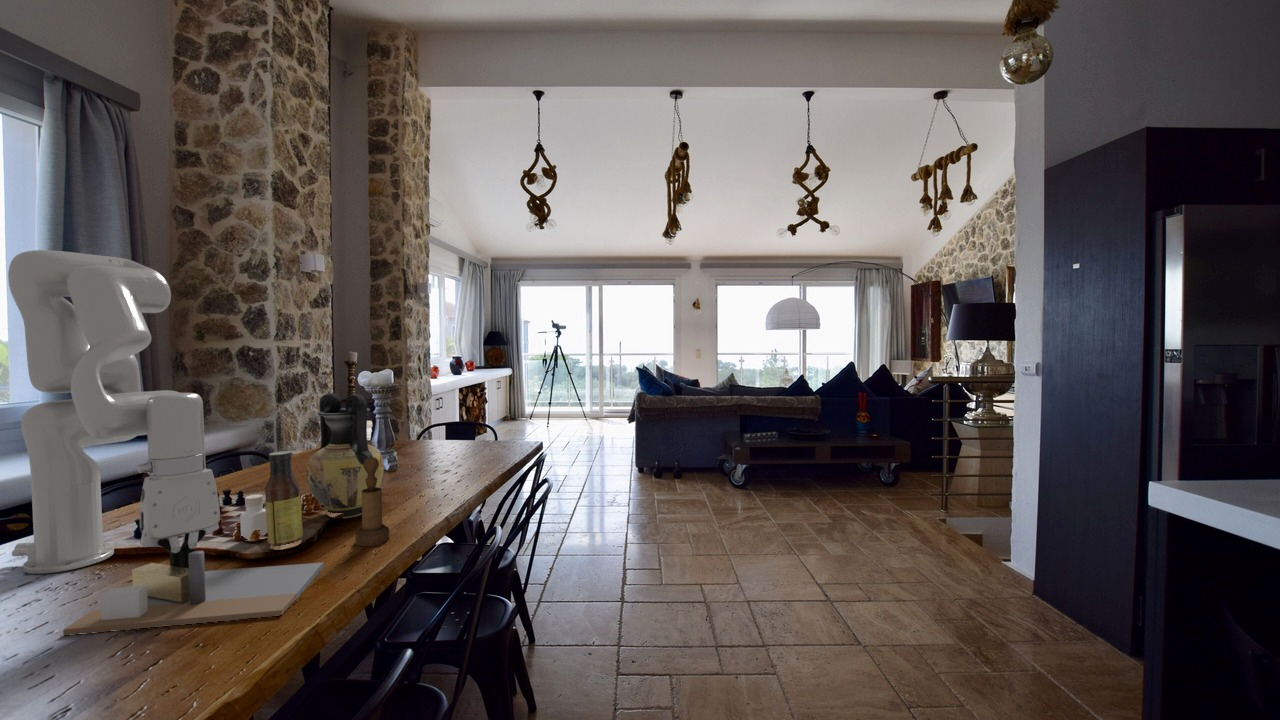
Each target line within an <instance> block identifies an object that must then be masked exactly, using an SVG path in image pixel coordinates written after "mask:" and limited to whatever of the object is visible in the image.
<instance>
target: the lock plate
mask: <svg viewBox="0 0 1280 720" xmlns="http://www.w3.org/2000/svg"><path fill="white" fill-rule="evenodd" d="M188 556H189V586H190V599H188V600H185V601H183V602H178V601H172V600H167V599H161V598H156V597H150V596H147V586H136V587H133V584H132V585H131V586H126V587H113V588H108V589H106V590H105V591H103V592H101V593H100V597H99V598H100V605H99V606H98V607H96V608H95V609H93V610H91V611H90V612H88V613H87V614H85V615H84V616H82V617H81V618H79V619H77V620H76V621H74V622H73V623H70V625H68V626H67V627H65V628H63V629H62V632H63V634H62V635H70V634H79V633H92V632H104V633H106V632H105V631H111V630H126V631H132V630H131V629H137V630H140V629H139V628H147V627H148V629H150V628H149V627H155V626H162V625H178V624H179V625H180V624H192V625H197V624H196V623H203V624H208V623H207V622H214V623H219V622H218V621H225V622H231V621H230V620H236V621H240V620H239V619H246V618H257V617H269V616H274V615H282V614H283V613H284V612H285V610H286V609H287V608H288V607H289V606H290V605H291V604H292V603H293V602H294V601H295V600H296V601H297V600H298V598H299V597H300V596H301V595H302V594H303V592H305V590H306V589H307V588H308V587H309V585H310V584H311V583H312V582H313V581H314V579H316V577H317V576H318V575H319V574H320V573H321V571H322V570H323V569H324V566H325V565H324V562H312V563H311V562H310V563H296V564H285V565H273V566H272V565H271V566H261V567H243V568H233V569H232V568H231V569H219V570H207V571H206V569H205V551H204V550H194V552H191V553H189V554H188ZM307 586H308V587H307ZM306 587H307V588H306ZM301 593H302V594H301ZM296 601H295V602H296ZM295 602H294V603H295ZM294 603H293V604H294ZM293 604H292V605H293ZM292 605H291V606H292ZM285 613H286V612H285ZM269 618H270V617H269Z"/></svg>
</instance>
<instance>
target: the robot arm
mask: <svg viewBox="0 0 1280 720" xmlns="http://www.w3.org/2000/svg"><path fill="white" fill-rule="evenodd" d="M7 272H8V275H7V276H8V277H7V279H8V285H9V286H8V287H9V290H10V293H11V296H12V298H13V300H14V302H15V305H16V306H17V308H18V311H19V312H20V315H21V318H22V320H23V325H24V326H23V327H24V336H25V337H24V338H25V351H26V362H27V369H28V370H27V371H28V376H29V381H30V383H31V385H32V386H33V388H34V389H35V390H37V391H39V392H41V393H47V394H67V393H70V394H71V398H70V399H59V400H50V401H45V402H42V403H38V404H36V405H33V406H31V407H30V408H28V409H27V410H26V411H25V412H24V413H23V415H22V417H21V419H20V430H21V434H22V437H23V440H24V443H25V447H26V451H27V455H28V460H29V461H28V462H29V469H30V470H29V471H30V483H31V485H30V486H31V505H32V507H31V509H32V523H33V524H32V526H33V527H32V529H33V542H20V543H17V544H16V545H15V546H14V549H13V550H12V552H11V556H12V557H22V556H26V557H27V560H26V561H25V562H24V563H23V565H22V569H23V572H24V573H27V574H33V575H36V574H37V575H38V574H39V575H40V574H44V575H45V574H54V573H61V572H66V571H70V570H75V569H81V568H85V567H87V566H91V565H94V564H97V563H100V562H102V561H105V560H107V559H109V558H110V557H111V556H113V555H114V553H115V548H111V549H110V548H109V549H103V546H105V545H107V546H110V544H104V536H103V532H104V531H103V515H102V514H103V512H102V509H103V508H102V489H101V488H102V486H101V485H102V484H101V469H100V466H99V465H98V463H97V462H96V460H95V459H93V458H92V457H91V456H89V455H88V453H86V452H85V451H84V450H83V449H84V448H88V447H92V446H93V447H94V446H99V445H107V444H108V445H109V444H112V443H120V442H126V441H130V440H132V439H135V438H136V437H137V436H138V437H139V436H145V435H146V436H147V453H148V454H147V455H148V458H147V459H146V462H144V463H142V464H137V472H138V473H140V474H141V473H142V474H143V473H145V474H146V473H147V475H149V476H146V477H144V480H143V484H142V491H141V496H140V504H139V505H140V507H139V529H140V533H141V538H140V541H139V544H140V545H141V546H142V547H143V548H144V547H145V548H149V547H150V548H151V547H161V548H163V549H165V550H167V551H169V566H176V567H182V568H189V556H188V554H189V553H191V552H194V551H195V548H197V546H198V543H199V542H200V541H201V540H202V539H203V537H205V535H208V534H210V533H213V532H214V531H217V530H219V529H220V526H219V525H220V523H219V522H220V521H221V510H220V502H219V501H220V500H219V495H218V489H217V484H216V479H215V477H214V473H213V470H212V469H210V468H207V466H206V446H205V445H206V444H205V424H204V402H203V399H202V397H201V395H199V394H198V393H195V392H179V391H176V390H169V389H167V390H166V389H165V390H153V391H152V390H149V391H142V389H141V388H142V386H141V374H140V367H139V362H138V360H137V358H136V356H135V355H136V354H138V353H140V352H142V351H144V350H145V349H146V348H148V346H149V345H150V344H151V342H152V335H151V332H150V330H149V327H148V325H147V322H146V320H145V318H144V315H143V314H157V313H158V314H159V313H163V312H164V311H165V310H166V309H167V308H168V307H169V305H170V304H171V301H172V300H171V299H172V298H171V297H172V292H171V288H170V285H169V283H168V282H167V280H166V279H165V277H164V276H163V275H162V274H161V273H160V272H158V271H156V270H154V269H153V268H152V267H148V266H145V265H143V264H142V263H139V262H136V261H134V260H131V259H128V258H122V257H117V256H107V255H98V254H90V253H89V254H88V253H80V252H74V251H73V252H71V251H63V250H52V249H51V250H50V249H49V250H48V249H47V250H45V249H37V250H27V251H24V252H20V253H19V254H16V255H15V256H14V257H12V259H11V261H10V264H9V267H8V271H7ZM64 297H65V298H64ZM66 297H67V298H68V297H70V300H71V301H72V303H71V302H70V301H69V300H67V299H66ZM182 535H183V539H182V544H181V545H180V541H179V537H178V536H182Z"/></svg>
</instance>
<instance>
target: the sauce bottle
mask: <svg viewBox="0 0 1280 720" xmlns="http://www.w3.org/2000/svg"><path fill="white" fill-rule="evenodd" d="M292 457H293V455H292V452H291V451H289V450H283V451H275V452H270V453H269V454H268V462H269V466H270V469H269V470H270V471H269V473H270V477H269V479H268V481H267V482H266V485H265V487H264V492H265V500H264V501H265V509H266V518H267V533H268V538H267V543H268V544H270V545H272V546H280V545H286V544H290V543H294V542H297V541H299V540H301V539H302V540H303V535H304V531H303V529H304V528H303V527H304V526H303V516H302V513H303V512H302V500H301V498H302V497H301V489H300V487H299V485H298V482H297V480H296V477H295V474H294V473H293V469H292Z"/></svg>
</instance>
